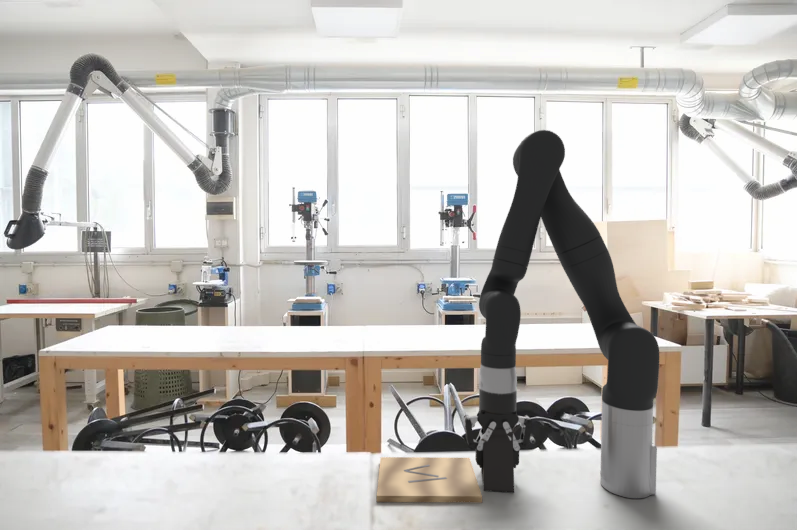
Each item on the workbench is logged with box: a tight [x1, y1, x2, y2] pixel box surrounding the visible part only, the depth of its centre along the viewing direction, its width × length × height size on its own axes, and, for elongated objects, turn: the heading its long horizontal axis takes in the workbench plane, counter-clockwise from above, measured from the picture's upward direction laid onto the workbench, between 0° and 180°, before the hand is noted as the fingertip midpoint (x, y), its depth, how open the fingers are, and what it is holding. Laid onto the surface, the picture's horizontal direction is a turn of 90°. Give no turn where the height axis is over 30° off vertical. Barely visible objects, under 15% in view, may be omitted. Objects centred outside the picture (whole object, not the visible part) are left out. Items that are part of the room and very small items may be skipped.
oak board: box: [376, 456, 483, 504], centre depth 95 cm, size 20×16×1 cm
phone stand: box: [480, 427, 515, 494], centre depth 95 cm, size 9×6×12 cm, turn 172°
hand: (496, 466), depth 95 cm, fingers closed on phone stand, 6 cm apart
